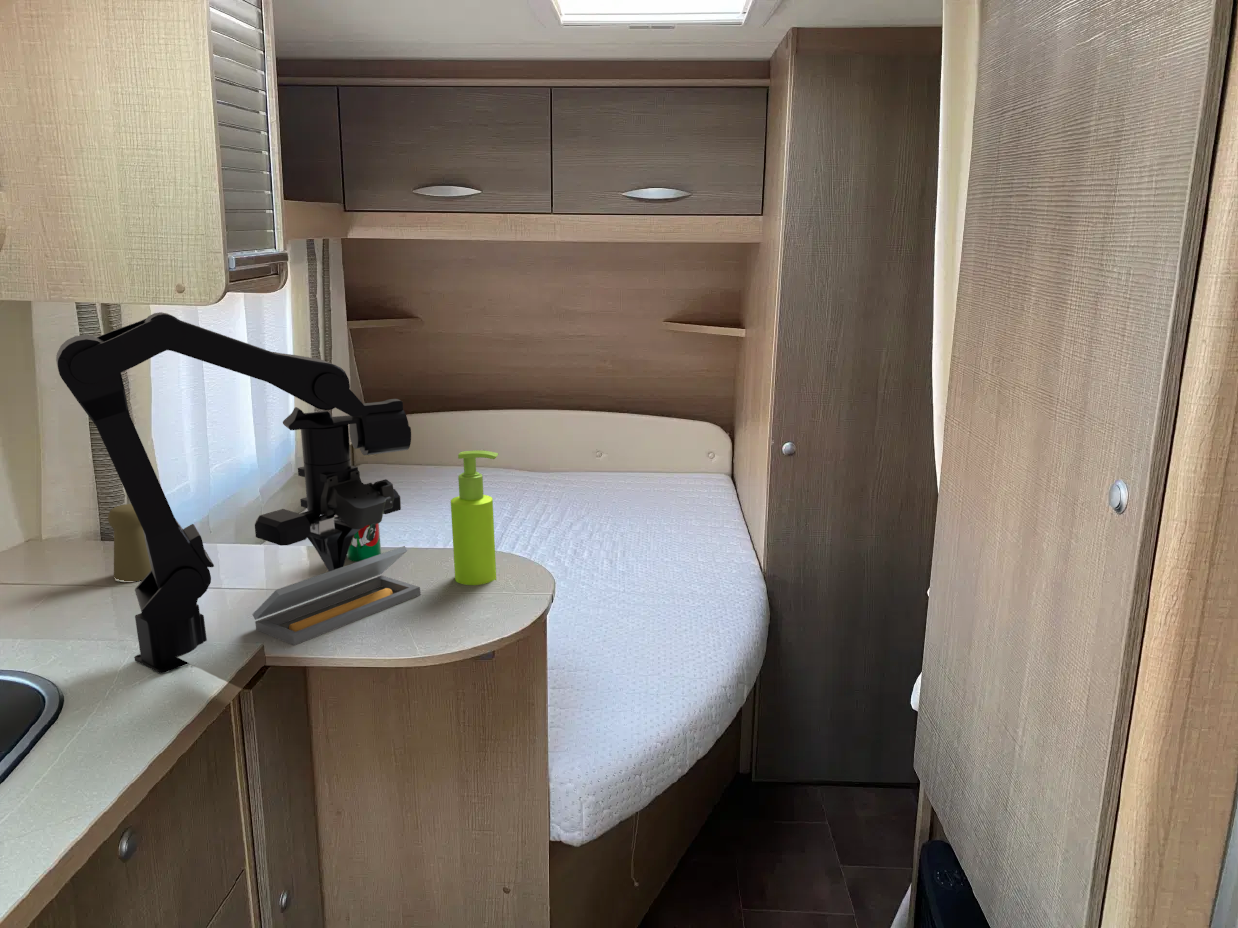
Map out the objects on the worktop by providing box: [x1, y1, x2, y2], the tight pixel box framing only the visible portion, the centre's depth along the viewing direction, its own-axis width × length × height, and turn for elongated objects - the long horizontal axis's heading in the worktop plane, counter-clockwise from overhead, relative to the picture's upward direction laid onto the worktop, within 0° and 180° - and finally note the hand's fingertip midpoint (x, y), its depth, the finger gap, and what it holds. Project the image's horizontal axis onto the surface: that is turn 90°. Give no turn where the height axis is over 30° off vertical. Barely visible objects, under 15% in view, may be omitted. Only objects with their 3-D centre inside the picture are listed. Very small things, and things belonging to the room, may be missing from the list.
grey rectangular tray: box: [254, 574, 421, 646], centre depth 123 cm, size 20×8×2 cm, turn 143°
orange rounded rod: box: [288, 587, 394, 632], centre depth 123 cm, size 16×2×2 cm, turn 143°
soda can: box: [346, 523, 382, 563], centre depth 143 cm, size 5×5×12 cm
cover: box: [252, 545, 408, 621], centre depth 123 cm, size 20×8×1 cm
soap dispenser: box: [450, 449, 499, 586], centre depth 132 cm, size 6×7×20 cm
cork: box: [107, 503, 151, 582], centre depth 140 cm, size 6×6×11 cm
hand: (336, 575), depth 122 cm, fingers closed, pressing on cover
